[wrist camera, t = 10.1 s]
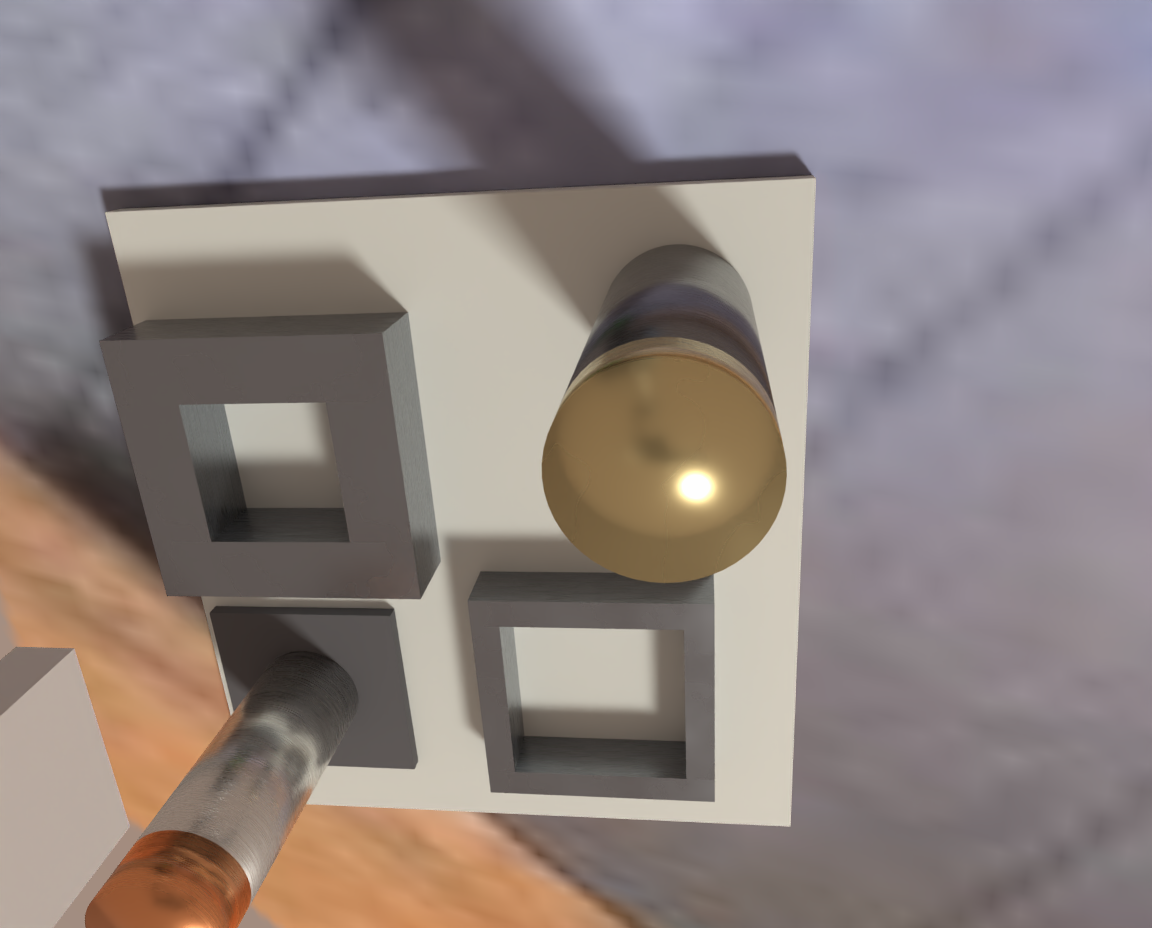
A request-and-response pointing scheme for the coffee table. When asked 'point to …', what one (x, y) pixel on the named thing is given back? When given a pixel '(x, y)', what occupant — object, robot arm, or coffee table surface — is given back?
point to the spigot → (668, 425)
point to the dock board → (512, 452)
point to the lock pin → (234, 804)
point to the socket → (593, 760)
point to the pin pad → (348, 640)
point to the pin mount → (209, 468)
